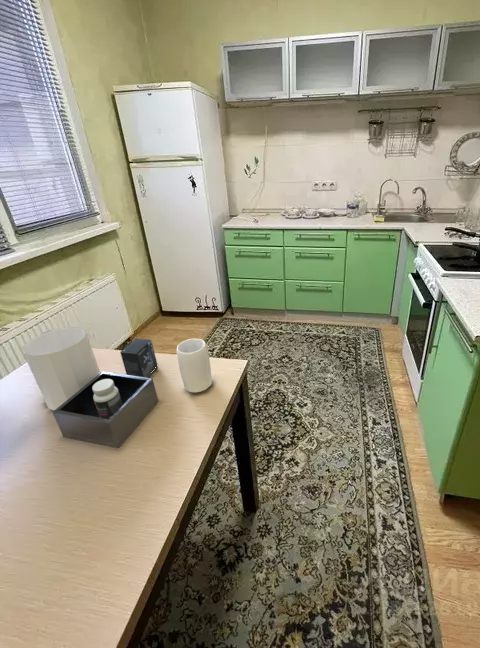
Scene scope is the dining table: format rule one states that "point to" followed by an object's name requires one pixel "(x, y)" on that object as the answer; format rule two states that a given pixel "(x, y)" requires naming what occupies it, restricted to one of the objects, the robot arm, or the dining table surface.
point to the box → (139, 358)
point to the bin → (86, 424)
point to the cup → (194, 365)
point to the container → (61, 363)
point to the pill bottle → (106, 398)
